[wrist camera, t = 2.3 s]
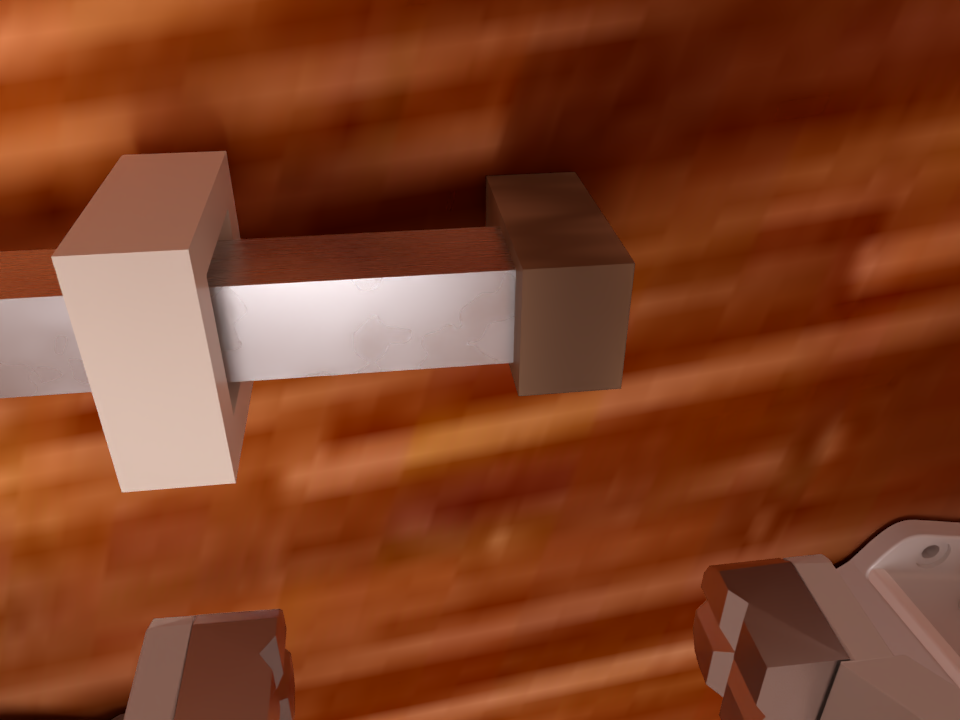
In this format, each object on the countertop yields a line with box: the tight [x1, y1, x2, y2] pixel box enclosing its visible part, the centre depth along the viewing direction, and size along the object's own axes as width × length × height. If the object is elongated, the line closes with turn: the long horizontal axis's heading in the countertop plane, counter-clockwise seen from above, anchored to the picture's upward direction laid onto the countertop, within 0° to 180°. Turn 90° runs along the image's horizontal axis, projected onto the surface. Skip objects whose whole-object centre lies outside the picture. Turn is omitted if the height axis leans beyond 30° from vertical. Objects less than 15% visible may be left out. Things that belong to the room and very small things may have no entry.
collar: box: [51, 151, 253, 492], centre depth 24 cm, size 3×7×7 cm, turn 0°
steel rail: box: [0, 226, 516, 398], centre depth 23 cm, size 28×3×3 cm, turn 90°
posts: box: [486, 172, 635, 396], centre depth 24 cm, size 30×4×7 cm, turn 90°
